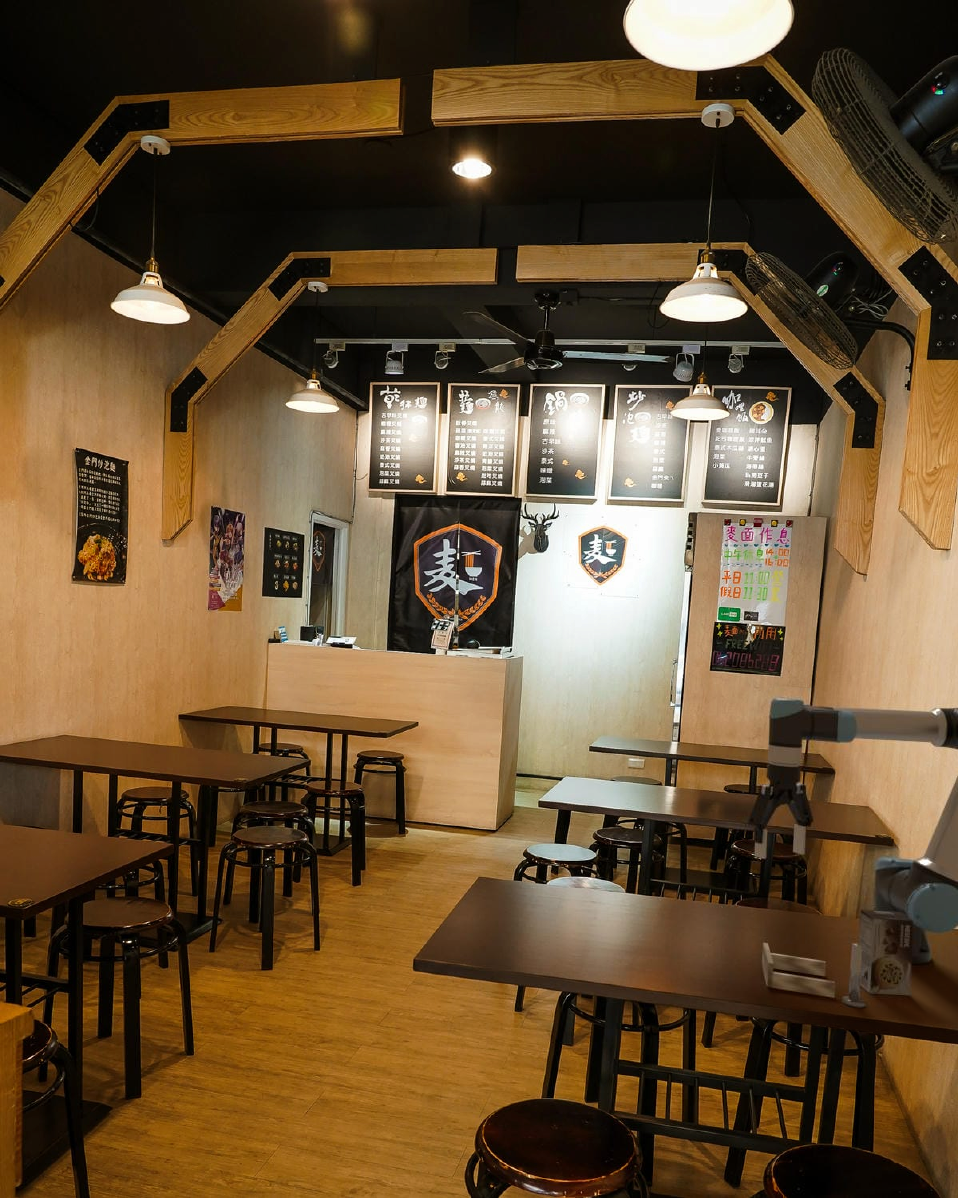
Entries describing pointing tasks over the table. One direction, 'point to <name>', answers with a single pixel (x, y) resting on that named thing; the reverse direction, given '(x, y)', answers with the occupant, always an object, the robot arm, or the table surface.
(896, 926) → the coffee box
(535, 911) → the table surface
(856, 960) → the post
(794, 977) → the bay
